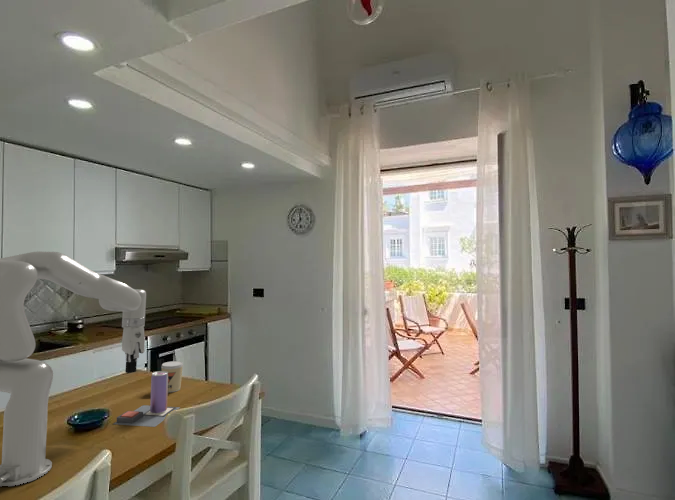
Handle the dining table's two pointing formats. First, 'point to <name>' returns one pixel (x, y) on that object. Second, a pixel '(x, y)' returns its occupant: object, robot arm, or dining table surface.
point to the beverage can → (159, 392)
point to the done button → (130, 414)
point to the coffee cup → (173, 374)
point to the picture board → (144, 417)
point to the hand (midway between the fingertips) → (130, 372)
